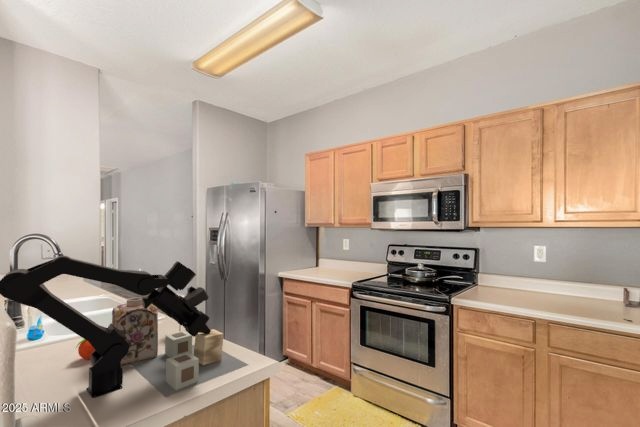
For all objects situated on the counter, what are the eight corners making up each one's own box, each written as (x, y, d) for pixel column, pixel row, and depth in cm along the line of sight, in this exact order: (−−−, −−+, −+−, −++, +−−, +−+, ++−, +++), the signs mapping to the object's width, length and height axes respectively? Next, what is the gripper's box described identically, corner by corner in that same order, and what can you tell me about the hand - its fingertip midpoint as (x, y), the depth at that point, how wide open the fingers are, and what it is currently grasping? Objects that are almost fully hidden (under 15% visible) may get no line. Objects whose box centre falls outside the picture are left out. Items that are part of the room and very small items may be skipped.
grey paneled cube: (176, 390, 81) (176, 365, 81) (165, 381, 85) (166, 358, 85) (198, 381, 86) (199, 358, 86) (187, 373, 90) (188, 351, 90)
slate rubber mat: (166, 399, 78) (166, 397, 78) (129, 365, 95) (129, 363, 95) (248, 366, 96) (248, 364, 96) (205, 343, 113) (205, 341, 113)
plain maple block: (203, 365, 94) (205, 337, 95) (193, 359, 98) (195, 332, 99) (221, 360, 98) (223, 333, 99) (211, 354, 103) (213, 329, 103)
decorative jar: (152, 346, 110) (152, 293, 110) (158, 356, 100) (158, 298, 101) (110, 355, 103) (111, 298, 103) (113, 367, 93) (114, 304, 94)
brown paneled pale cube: (173, 360, 98) (173, 339, 98) (165, 354, 103) (165, 334, 103) (192, 354, 103) (192, 334, 103) (183, 348, 107) (183, 330, 107)
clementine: (80, 367, 94) (81, 342, 94) (69, 361, 98) (69, 338, 98) (109, 357, 101) (110, 334, 101) (97, 352, 105) (98, 330, 105)
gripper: (201, 285, 88) (239, 317, 95) (181, 275, 103) (216, 303, 110) (171, 320, 83) (213, 351, 90) (154, 305, 98) (192, 332, 105)
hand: (209, 332), depth 99 cm, fingers closed, pressing on plain maple block
